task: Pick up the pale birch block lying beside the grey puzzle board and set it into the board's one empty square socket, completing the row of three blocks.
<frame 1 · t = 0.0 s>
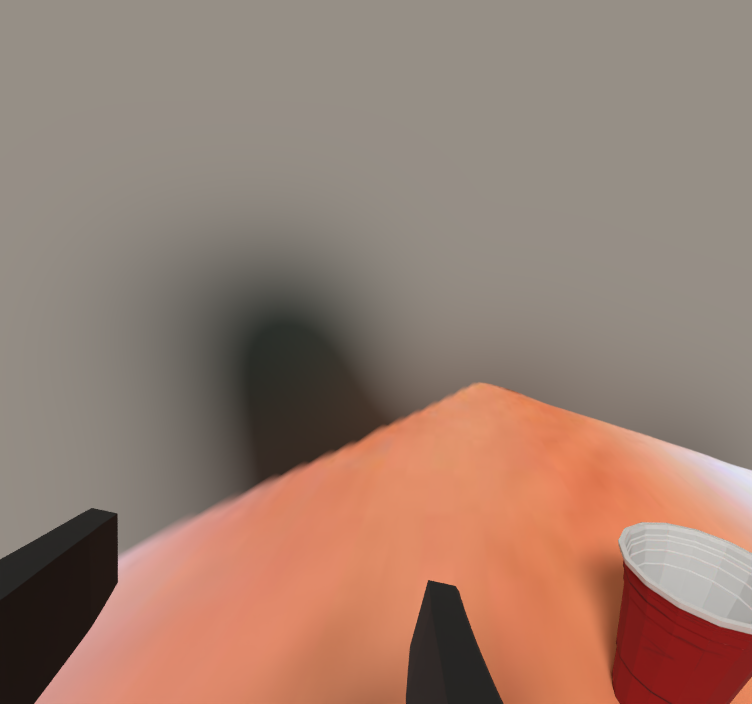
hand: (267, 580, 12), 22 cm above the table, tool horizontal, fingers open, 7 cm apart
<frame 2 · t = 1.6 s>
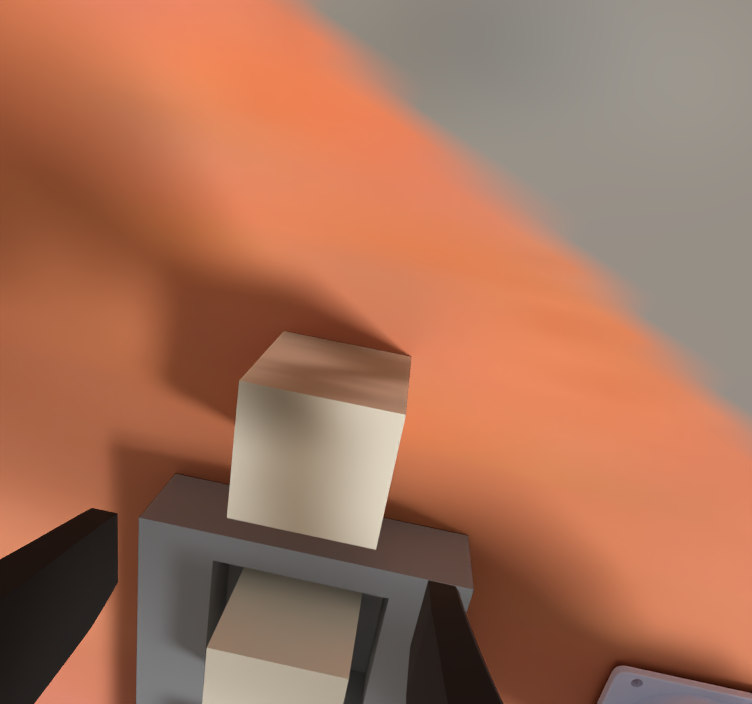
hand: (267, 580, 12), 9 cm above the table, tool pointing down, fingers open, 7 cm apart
loose block: (338, 400, 20), on the table
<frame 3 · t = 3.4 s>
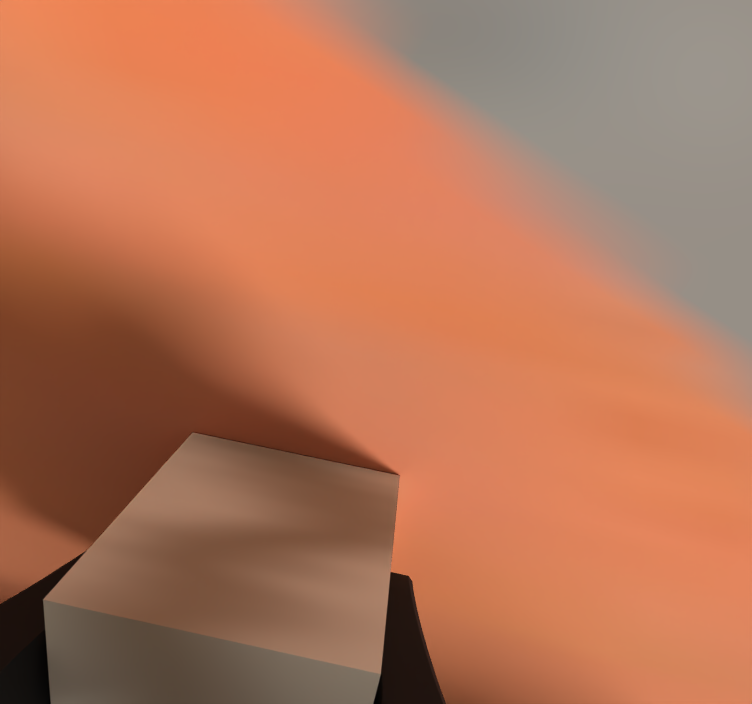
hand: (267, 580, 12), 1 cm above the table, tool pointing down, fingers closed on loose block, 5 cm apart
loose block: (283, 537, 13), on the table, touching gripper
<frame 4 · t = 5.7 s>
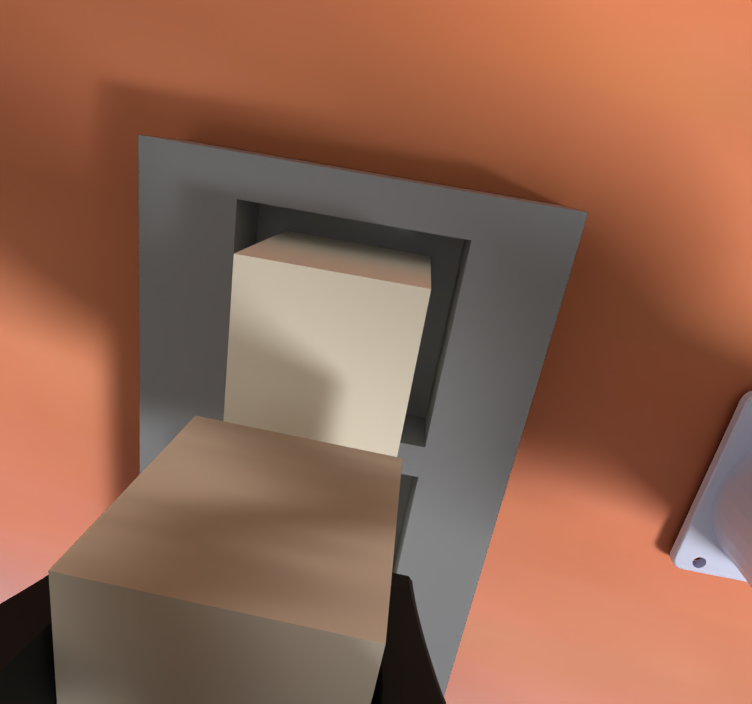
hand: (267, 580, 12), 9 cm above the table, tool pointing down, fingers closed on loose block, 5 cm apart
puzzle board: (323, 490, 22), on the table
loose block: (286, 522, 13), point 8 cm above the table, touching gripper
when the fingers open (4 cm above the table, at t = 8.5 s): loose block drops 1 cm, resting on puzzle board.
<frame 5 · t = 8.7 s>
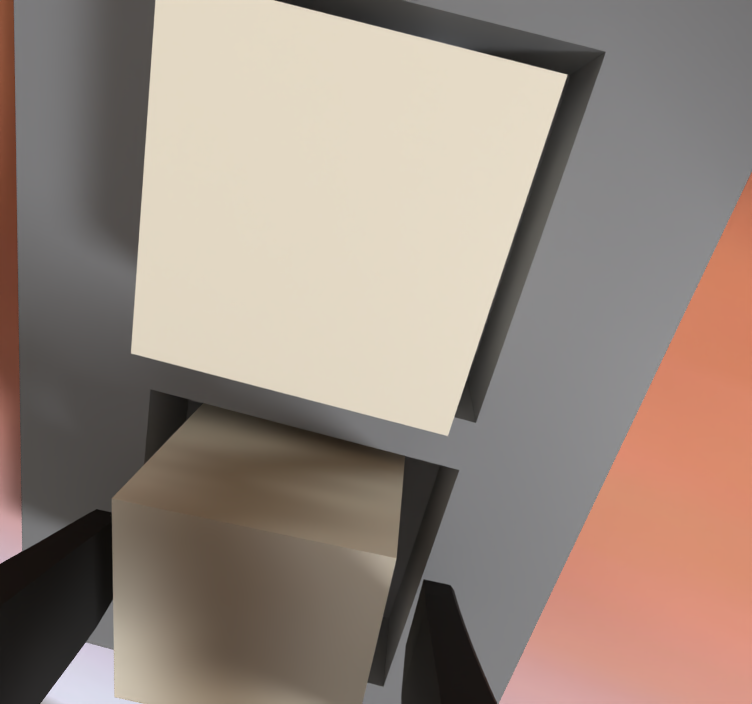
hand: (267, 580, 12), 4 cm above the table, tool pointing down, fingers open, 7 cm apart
puzzle board: (368, 203, 12), on the table
loose block: (303, 481, 14), point 1 cm above the table, touching puzzle board
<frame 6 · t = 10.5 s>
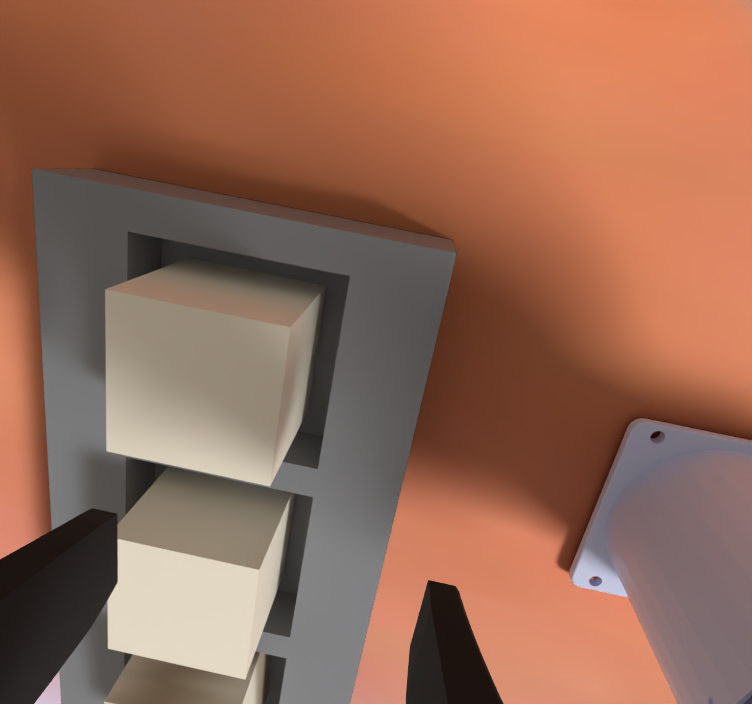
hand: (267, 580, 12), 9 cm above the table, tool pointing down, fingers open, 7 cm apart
puzzle board: (239, 504, 23), on the table
loose block: (220, 644, 24), point 1 cm above the table, touching puzzle board
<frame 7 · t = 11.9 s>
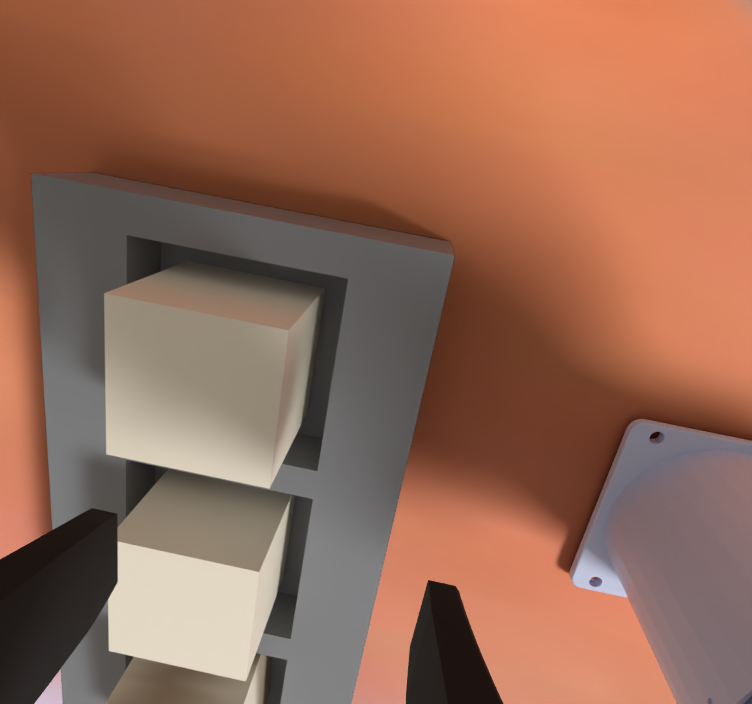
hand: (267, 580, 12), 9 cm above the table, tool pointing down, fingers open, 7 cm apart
puzzle board: (239, 506, 23), on the table
loose block: (221, 646, 24), point 1 cm above the table, touching puzzle board
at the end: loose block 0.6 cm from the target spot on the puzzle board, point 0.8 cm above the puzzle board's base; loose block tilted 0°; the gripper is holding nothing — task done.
